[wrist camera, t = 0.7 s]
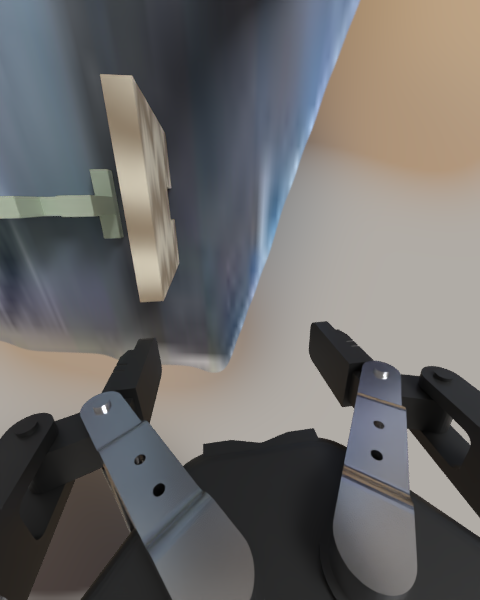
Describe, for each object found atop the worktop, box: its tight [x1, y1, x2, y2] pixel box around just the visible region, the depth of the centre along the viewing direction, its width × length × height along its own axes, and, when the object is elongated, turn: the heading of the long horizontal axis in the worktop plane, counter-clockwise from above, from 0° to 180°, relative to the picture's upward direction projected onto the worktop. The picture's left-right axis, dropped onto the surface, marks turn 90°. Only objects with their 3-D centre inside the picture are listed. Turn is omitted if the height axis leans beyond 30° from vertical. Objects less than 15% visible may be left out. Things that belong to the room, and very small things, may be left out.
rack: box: [0, 169, 124, 239], centre depth 27 cm, size 8×20×8 cm, turn 91°
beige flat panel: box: [100, 74, 179, 302], centre depth 26 cm, size 16×2×15 cm, turn 1°
